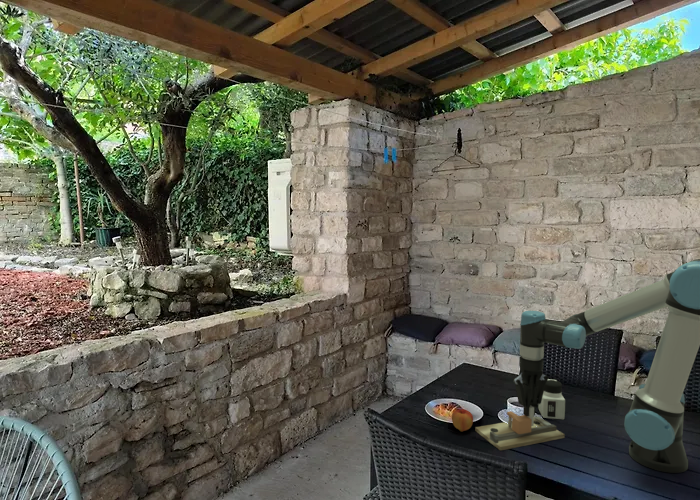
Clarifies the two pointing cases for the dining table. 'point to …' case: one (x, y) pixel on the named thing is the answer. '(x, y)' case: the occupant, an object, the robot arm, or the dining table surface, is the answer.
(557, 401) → the container
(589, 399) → the dining table surface
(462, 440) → the dining table surface
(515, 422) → the block
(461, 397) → the dining table surface
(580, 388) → the dining table surface
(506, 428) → the board
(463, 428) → the apple
